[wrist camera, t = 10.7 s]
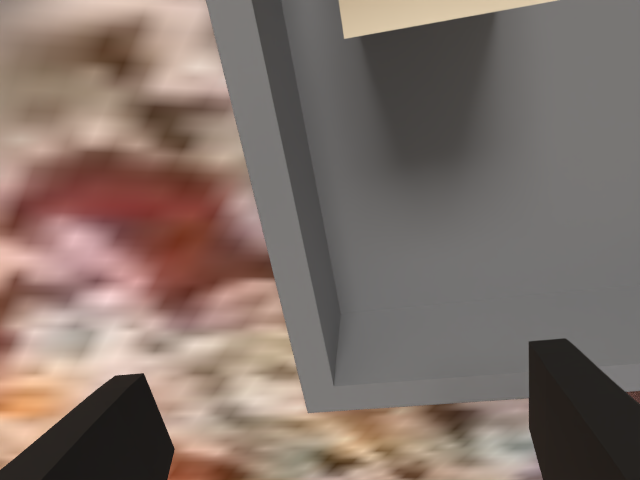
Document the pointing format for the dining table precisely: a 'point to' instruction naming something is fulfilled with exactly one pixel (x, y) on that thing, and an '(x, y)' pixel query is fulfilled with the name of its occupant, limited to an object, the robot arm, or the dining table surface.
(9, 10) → the dining table surface
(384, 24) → the birch block
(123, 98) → the dining table surface
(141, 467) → the robot arm
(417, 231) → the bin
